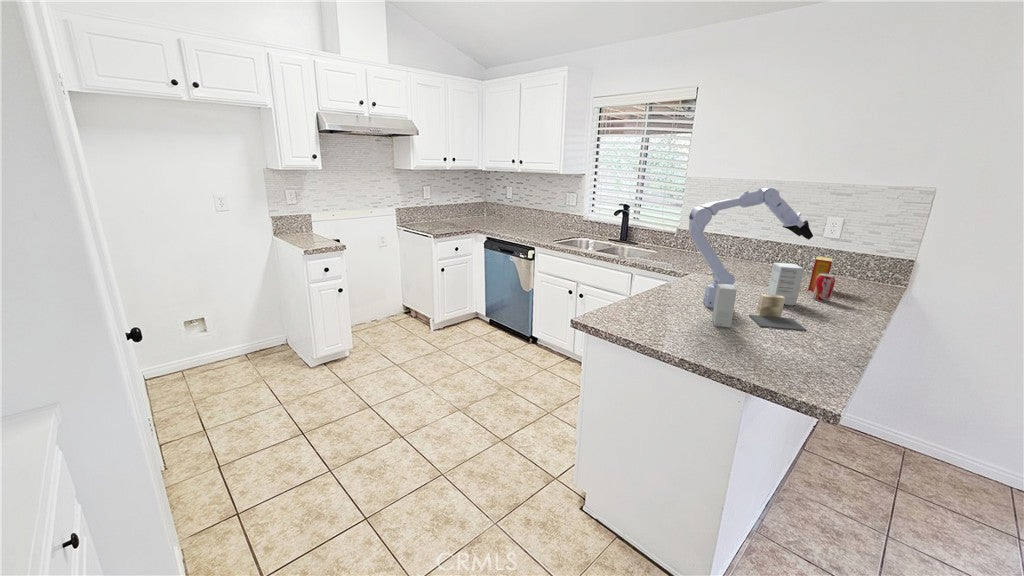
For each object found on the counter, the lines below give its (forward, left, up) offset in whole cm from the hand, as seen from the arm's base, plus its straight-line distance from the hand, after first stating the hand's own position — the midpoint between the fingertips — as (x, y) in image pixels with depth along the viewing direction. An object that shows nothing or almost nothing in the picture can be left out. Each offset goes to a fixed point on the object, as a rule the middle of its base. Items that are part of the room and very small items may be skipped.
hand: (806, 236), depth 171 cm
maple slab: (-11, -8, -32) cm, 35 cm away
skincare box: (-33, -22, -32) cm, 51 cm away
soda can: (+22, +22, -32) cm, 45 cm away
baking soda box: (+29, +41, -32) cm, 60 cm away
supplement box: (+2, +14, -32) cm, 35 cm away
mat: (-11, -16, -32) cm, 37 cm away
